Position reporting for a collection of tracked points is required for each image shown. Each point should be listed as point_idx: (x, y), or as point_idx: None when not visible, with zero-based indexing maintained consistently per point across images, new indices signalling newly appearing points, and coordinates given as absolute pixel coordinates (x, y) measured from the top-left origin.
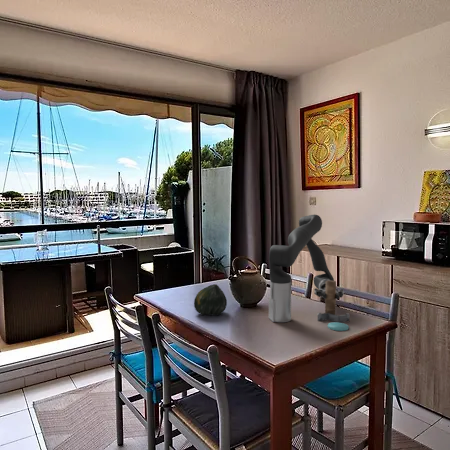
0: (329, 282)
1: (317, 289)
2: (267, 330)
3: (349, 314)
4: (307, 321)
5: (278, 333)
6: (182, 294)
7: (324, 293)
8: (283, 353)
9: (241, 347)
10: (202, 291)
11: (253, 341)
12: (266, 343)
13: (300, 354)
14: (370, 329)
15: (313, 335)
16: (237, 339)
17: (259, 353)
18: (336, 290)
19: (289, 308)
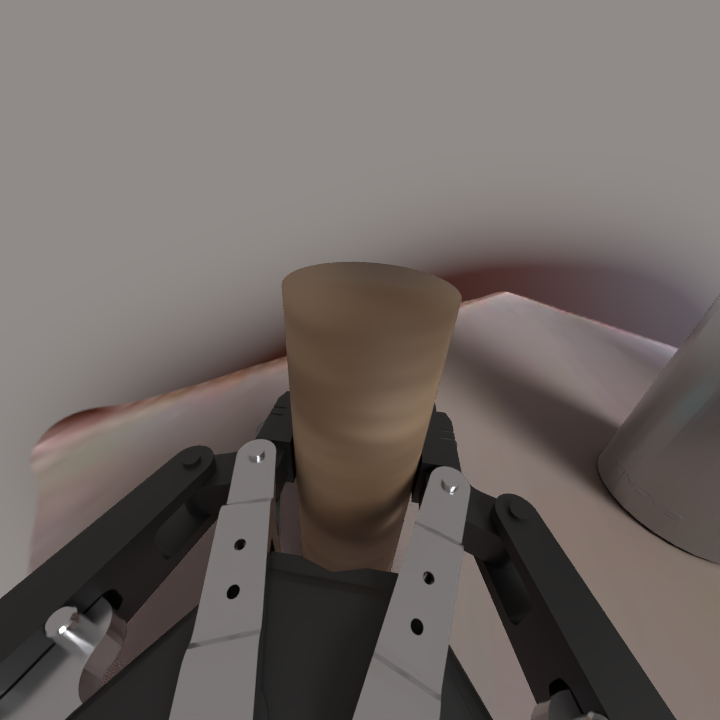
0: (404, 267)
1: (611, 700)
2: (620, 386)
3: (260, 426)
4: (500, 461)
5: (567, 367)
6: None
7: (435, 423)
8: (505, 307)
9: (605, 324)
10: None
11: (602, 339)
12: (563, 332)
13: (472, 303)
14: (238, 373)
15: (454, 352)
16: (652, 348)
17: (551, 310)
18: (133, 660)
19: (637, 407)
